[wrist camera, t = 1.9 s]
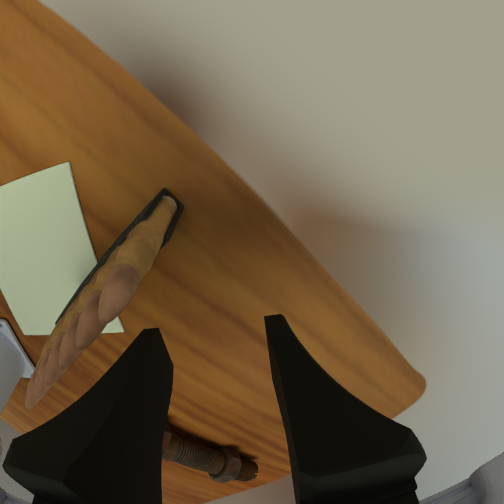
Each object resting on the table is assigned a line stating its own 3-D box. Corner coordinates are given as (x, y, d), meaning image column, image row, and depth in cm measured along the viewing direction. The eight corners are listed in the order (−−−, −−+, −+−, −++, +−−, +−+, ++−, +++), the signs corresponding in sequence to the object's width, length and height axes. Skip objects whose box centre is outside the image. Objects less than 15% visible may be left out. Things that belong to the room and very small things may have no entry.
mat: (25, 333, 24) (24, 335, 23) (-30, 199, 18) (-32, 200, 17) (124, 330, 24) (124, 331, 23) (69, 161, 18) (68, 161, 17)
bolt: (245, 450, 36) (147, 413, 31) (270, 454, 33) (163, 416, 27) (234, 487, 32) (130, 455, 27) (258, 494, 29) (145, 465, 24)
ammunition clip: (164, 186, 19) (93, 286, 8) (185, 206, 20) (142, 325, 9) (79, 286, 21) (9, 403, 11) (96, 301, 22) (37, 423, 11)
